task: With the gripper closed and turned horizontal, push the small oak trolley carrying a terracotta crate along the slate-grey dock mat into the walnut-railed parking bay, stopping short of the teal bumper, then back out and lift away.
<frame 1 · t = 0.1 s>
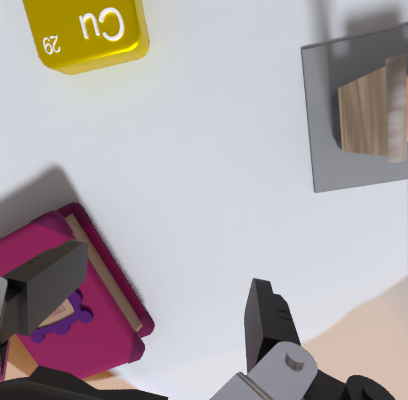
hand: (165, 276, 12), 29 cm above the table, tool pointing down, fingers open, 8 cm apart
element tile: (93, 13, 37), on the table
book: (76, 285, 48), on the table
trolley: (373, 114, 35), resting on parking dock
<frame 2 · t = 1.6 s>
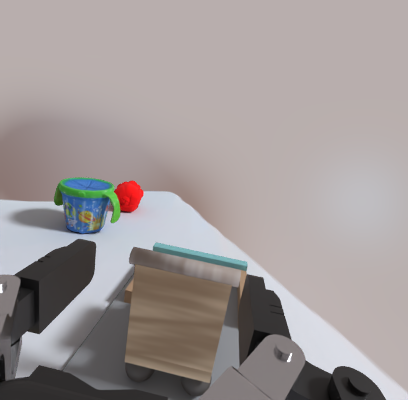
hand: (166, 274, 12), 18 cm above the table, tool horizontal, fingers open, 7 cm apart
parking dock: (190, 294, 40), on the table
flower: (126, 210, 71), on the table
trolley: (175, 349, 29), resting on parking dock
snack cup: (85, 228, 56), on the table
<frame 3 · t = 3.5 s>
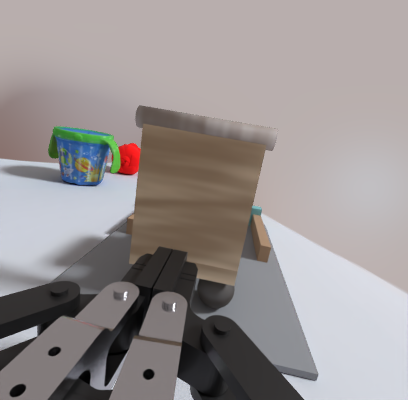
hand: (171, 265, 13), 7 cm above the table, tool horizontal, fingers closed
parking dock: (200, 234, 35), on the table
flower: (126, 174, 67), on the table
trolley: (187, 271, 25), resting on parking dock
snack cup: (82, 182, 52), on the table
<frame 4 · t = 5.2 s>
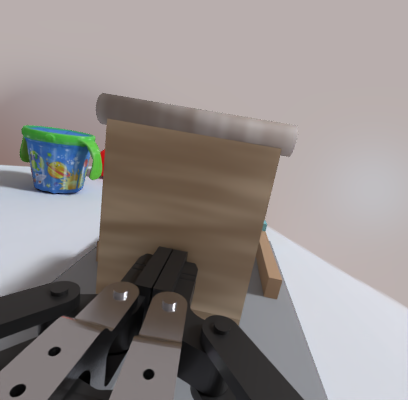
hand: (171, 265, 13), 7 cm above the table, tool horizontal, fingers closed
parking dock: (192, 257, 29), on the table
trolley: (177, 304, 20), point 1 cm above the table
snack cup: (59, 190, 45), on the table
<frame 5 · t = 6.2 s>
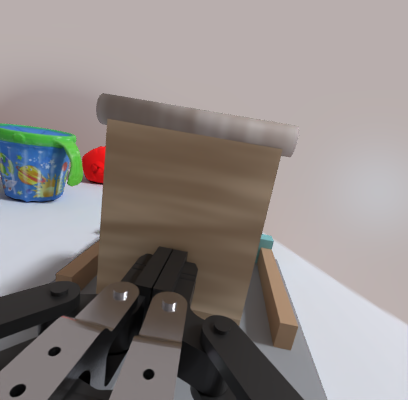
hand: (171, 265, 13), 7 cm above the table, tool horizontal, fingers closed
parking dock: (183, 285, 23), on the table
flower: (102, 182, 55), on the table
trolley: (177, 304, 20), point 1 cm above the table, touching gripper, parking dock
snack cup: (35, 197, 40), on the table
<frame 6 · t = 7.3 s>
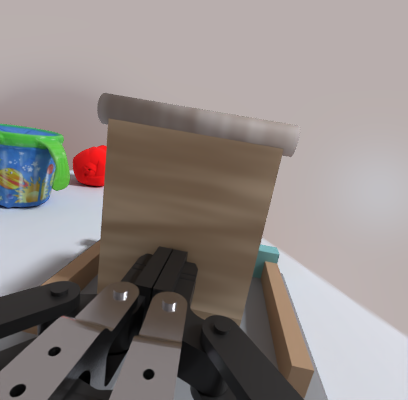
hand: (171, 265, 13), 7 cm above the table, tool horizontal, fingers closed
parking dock: (175, 308, 20), on the table
flower: (95, 185, 52), on the table
trolley: (178, 304, 20), resting on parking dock, touching gripper
snack cup: (19, 202, 36), on the table
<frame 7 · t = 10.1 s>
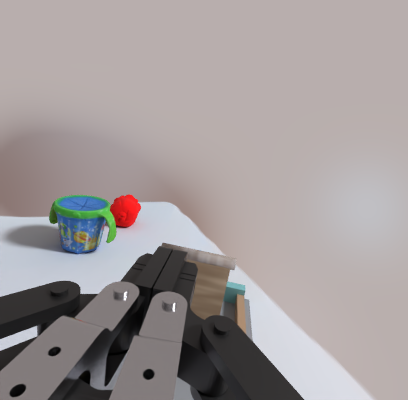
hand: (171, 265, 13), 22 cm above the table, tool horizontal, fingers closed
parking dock: (186, 322, 39), on the table
flower: (123, 225, 70), on the table
trolley: (188, 320, 39), resting on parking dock
snack cup: (81, 247, 55), on the table
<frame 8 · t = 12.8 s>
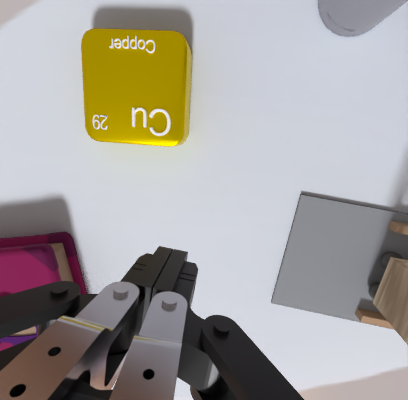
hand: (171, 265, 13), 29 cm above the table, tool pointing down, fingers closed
element tile: (143, 94, 40), on the table
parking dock: (404, 275, 41), on the table
book: (43, 298, 52), on the table
trolley: (405, 277, 41), resting on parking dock
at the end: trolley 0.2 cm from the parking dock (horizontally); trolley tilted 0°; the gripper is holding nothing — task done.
